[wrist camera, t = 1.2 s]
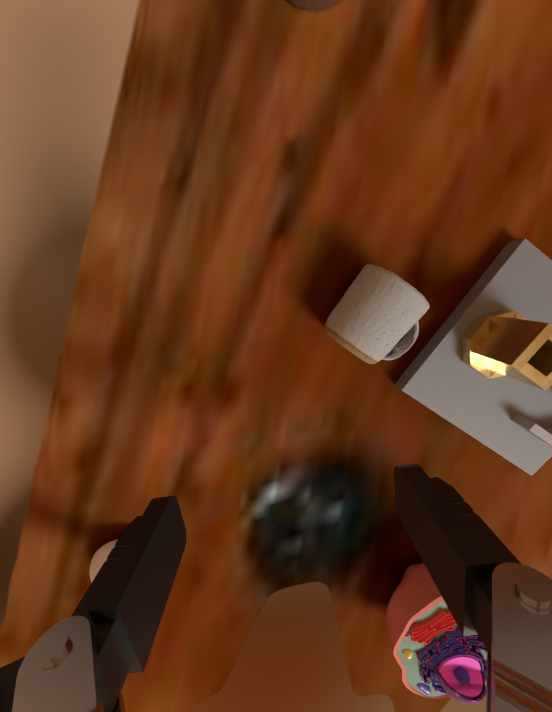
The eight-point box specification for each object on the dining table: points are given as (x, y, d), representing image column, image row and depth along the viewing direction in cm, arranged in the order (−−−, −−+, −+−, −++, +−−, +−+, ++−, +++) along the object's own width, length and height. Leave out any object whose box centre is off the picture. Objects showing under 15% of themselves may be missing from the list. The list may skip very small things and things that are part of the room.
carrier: (509, 241, 30) (559, 231, 25) (637, 346, 33) (706, 358, 28) (394, 384, 34) (416, 402, 29) (518, 466, 38) (558, 496, 32)
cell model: (492, 531, 40) (574, 623, 29) (464, 628, 45) (525, 737, 34) (379, 529, 40) (419, 621, 29) (363, 627, 45) (392, 737, 34)
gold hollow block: (491, 300, 30) (549, 303, 24) (536, 334, 31) (603, 347, 25) (448, 352, 31) (492, 369, 25) (492, 383, 32) (545, 407, 26)
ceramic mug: (314, 325, 32) (327, 338, 25) (356, 264, 31) (384, 258, 23) (383, 371, 34) (414, 396, 27) (426, 316, 32) (473, 326, 25)
